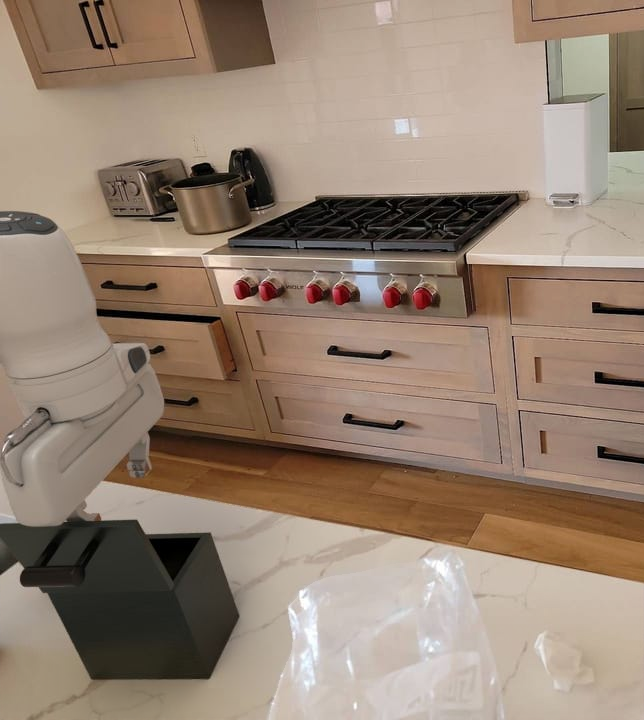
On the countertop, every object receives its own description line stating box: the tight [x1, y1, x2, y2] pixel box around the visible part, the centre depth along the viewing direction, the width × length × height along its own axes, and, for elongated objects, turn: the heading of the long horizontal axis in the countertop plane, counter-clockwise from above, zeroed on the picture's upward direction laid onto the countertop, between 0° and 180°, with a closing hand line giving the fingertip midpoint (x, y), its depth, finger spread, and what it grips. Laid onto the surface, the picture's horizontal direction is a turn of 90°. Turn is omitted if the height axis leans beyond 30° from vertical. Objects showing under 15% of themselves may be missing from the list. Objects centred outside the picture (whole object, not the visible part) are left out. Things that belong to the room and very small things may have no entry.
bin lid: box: [0, 518, 174, 594], centre depth 63 cm, size 10×14×5 cm
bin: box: [46, 531, 240, 680], centre depth 75 cm, size 9×14×13 cm, turn 86°
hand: (118, 501), depth 70 cm, fingers open, 8 cm apart
